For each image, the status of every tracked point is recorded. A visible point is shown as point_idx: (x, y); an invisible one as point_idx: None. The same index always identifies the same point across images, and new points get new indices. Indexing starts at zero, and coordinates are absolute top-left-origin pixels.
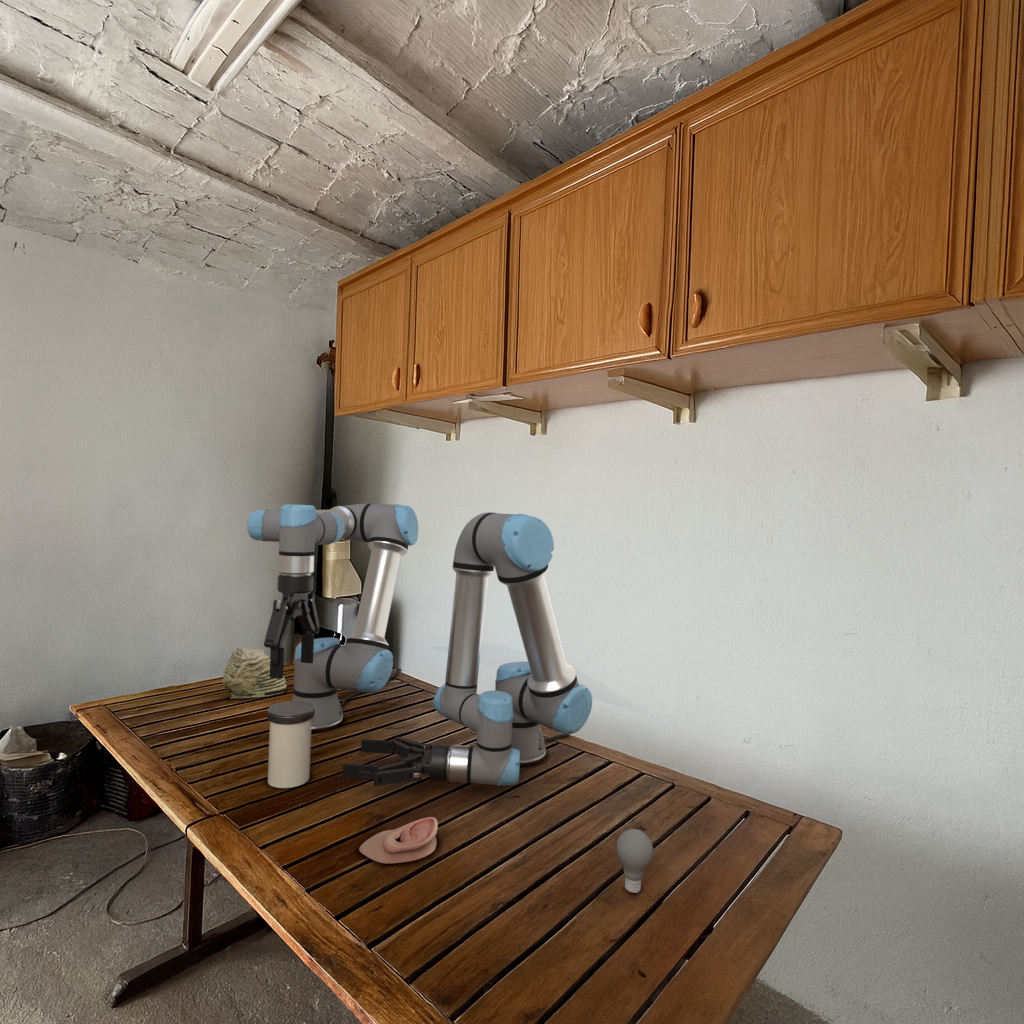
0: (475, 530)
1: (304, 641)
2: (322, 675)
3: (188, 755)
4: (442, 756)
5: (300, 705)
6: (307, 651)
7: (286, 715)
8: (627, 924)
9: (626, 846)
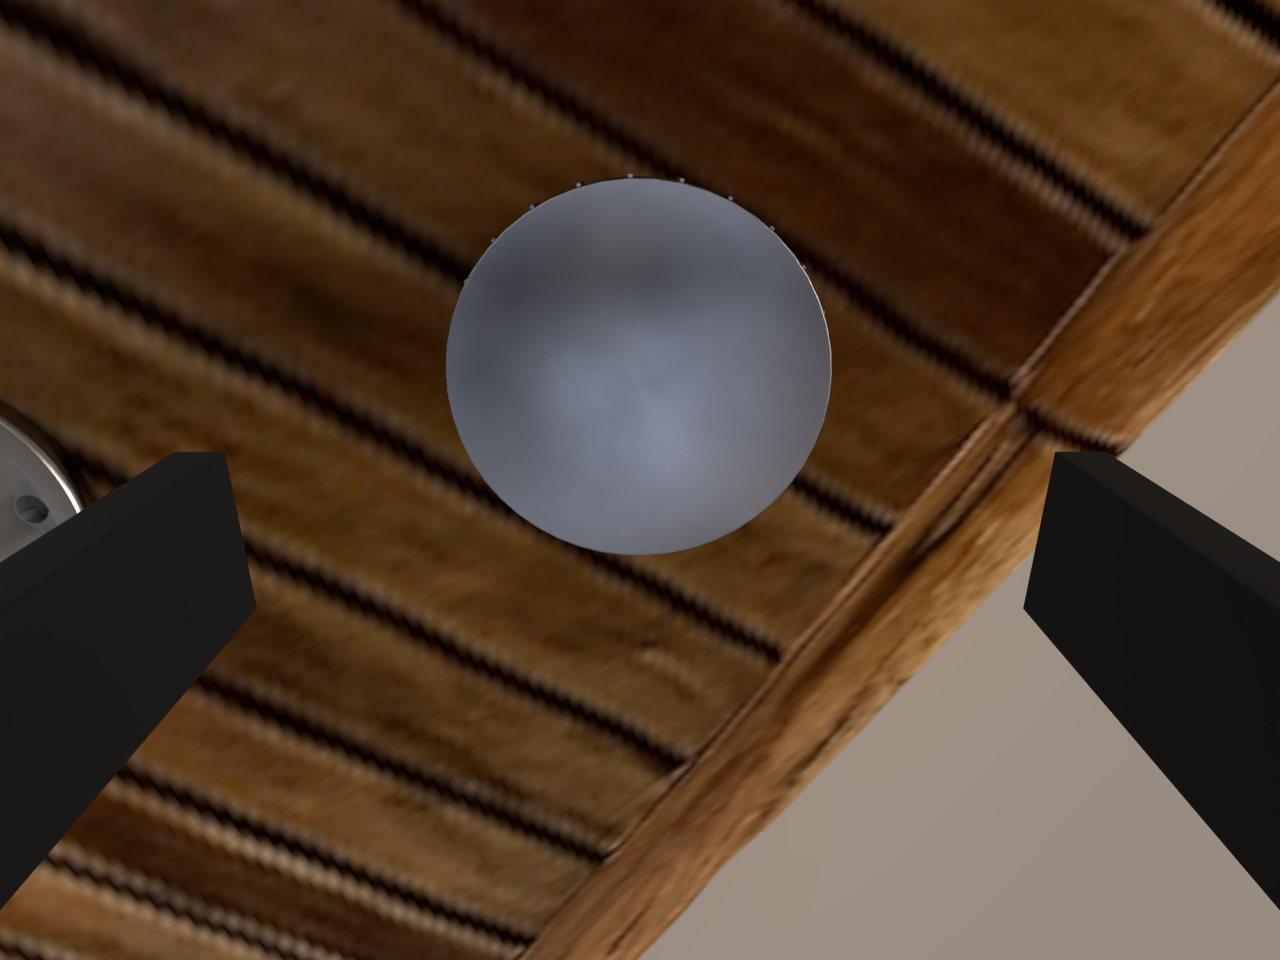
0: None
1: (25, 799)
2: None
3: (547, 801)
4: None
5: (554, 343)
6: (135, 611)
7: (825, 327)
8: None
9: None
